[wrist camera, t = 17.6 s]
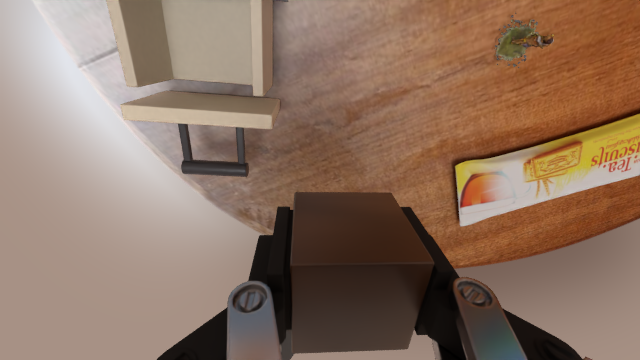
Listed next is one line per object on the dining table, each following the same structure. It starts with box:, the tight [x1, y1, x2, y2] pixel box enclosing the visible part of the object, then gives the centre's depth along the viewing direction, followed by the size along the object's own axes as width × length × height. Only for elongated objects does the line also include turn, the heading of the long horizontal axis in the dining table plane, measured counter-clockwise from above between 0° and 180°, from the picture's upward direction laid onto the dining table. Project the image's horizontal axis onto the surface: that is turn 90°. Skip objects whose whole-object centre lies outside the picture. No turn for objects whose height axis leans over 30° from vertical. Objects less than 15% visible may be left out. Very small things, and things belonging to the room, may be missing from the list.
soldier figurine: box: [495, 13, 554, 68], centre depth 25 cm, size 2×1×4 cm, turn 81°
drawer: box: [106, 0, 280, 177], centre depth 22 cm, size 20×11×7 cm, turn 175°
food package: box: [455, 113, 640, 226], centre depth 32 cm, size 27×2×10 cm
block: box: [290, 192, 434, 354], centre depth 11 cm, size 4×4×4 cm
